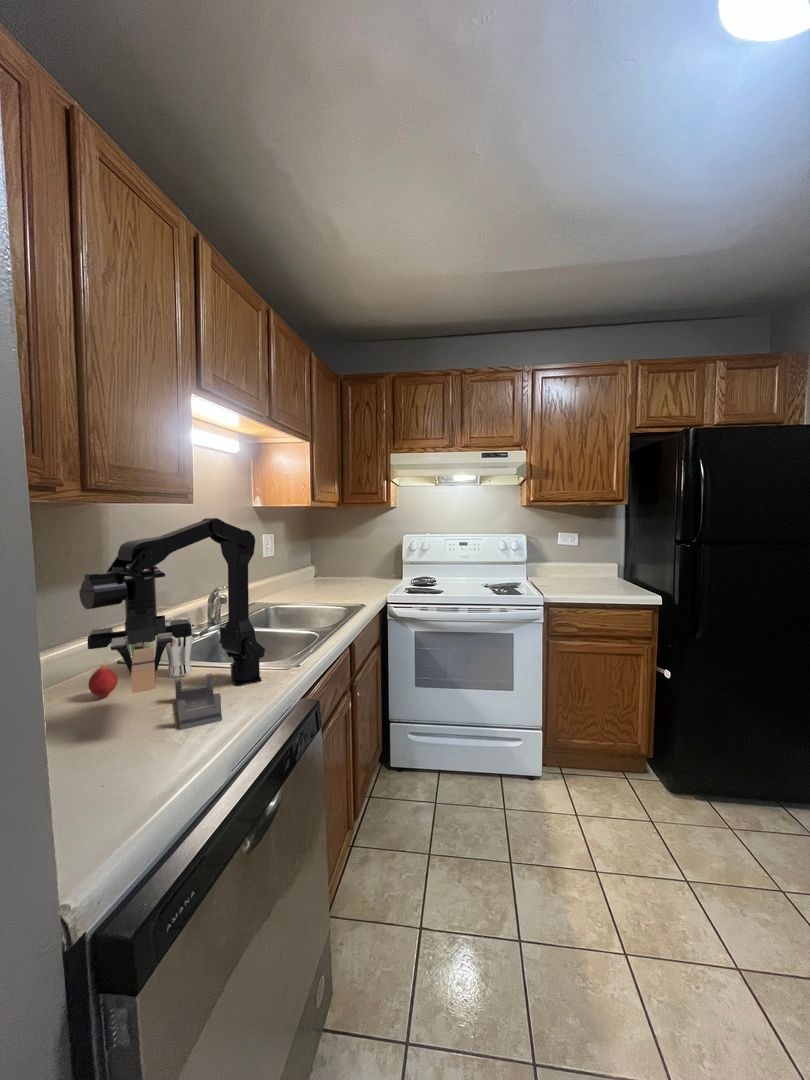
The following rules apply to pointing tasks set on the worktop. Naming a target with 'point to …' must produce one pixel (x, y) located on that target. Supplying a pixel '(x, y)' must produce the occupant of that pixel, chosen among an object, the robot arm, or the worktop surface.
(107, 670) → the onion
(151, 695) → the worktop surface
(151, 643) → the food container
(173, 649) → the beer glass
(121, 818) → the worktop surface
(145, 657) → the banded tan post
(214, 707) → the collar stand
